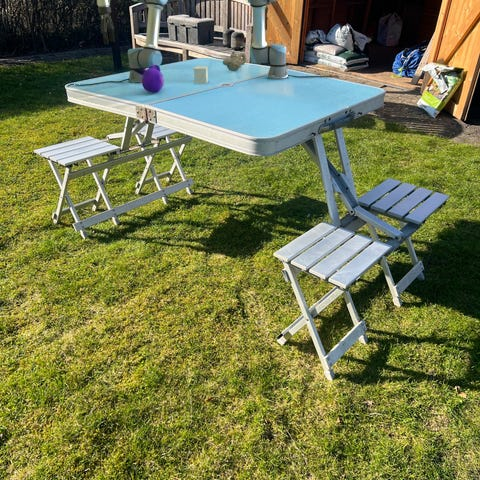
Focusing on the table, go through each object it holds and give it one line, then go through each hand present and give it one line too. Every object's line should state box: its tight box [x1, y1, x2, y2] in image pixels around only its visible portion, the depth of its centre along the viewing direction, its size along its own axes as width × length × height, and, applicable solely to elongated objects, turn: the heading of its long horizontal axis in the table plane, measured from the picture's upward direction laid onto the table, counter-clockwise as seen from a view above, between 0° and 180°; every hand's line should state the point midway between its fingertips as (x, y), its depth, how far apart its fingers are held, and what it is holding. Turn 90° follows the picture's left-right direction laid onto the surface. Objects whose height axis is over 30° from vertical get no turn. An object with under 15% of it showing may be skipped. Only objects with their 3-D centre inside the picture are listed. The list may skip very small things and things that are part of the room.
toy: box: [134, 65, 165, 94], centre depth 304 cm, size 16×18×27 cm
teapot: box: [222, 50, 247, 72], centre depth 365 cm, size 21×12×15 cm, turn 120°
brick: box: [193, 65, 209, 85], centre depth 328 cm, size 8×9×11 cm
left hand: (109, 43), depth 292 cm, fingers open, 13 cm apart
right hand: (265, 29), depth 360 cm, fingers open, 13 cm apart
